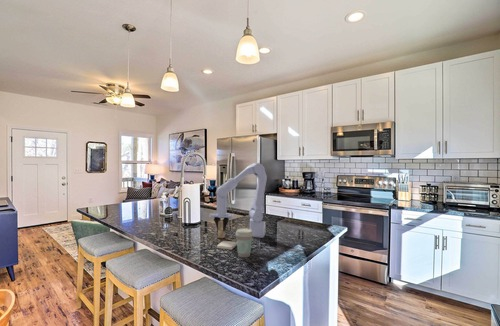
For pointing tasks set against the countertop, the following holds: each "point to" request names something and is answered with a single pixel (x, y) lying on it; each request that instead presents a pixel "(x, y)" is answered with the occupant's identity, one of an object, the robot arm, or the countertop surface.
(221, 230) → the stick
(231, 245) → the tile
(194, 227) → the countertop surface
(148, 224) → the countertop surface
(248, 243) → the coffee cup
